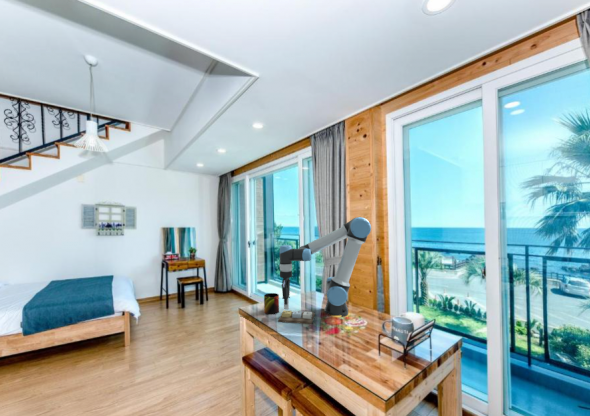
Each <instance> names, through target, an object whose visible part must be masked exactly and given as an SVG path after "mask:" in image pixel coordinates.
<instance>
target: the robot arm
mask: <svg viewBox="0 0 590 416" xmlns="http://www.w3.org/2000/svg"><path fill="white" fill-rule="evenodd" d="M371 231H372V225H371V223H370V222H369V220H368V219H367V218H365V217H361V216H359V217H358V216H356V217H353V218H352V219H350V220H348V222H346V223H344V224H342V226H341V227H340V228H337V229H335V230H333V231H331V232H329V233H326V234H325V235H323V236H320V237H319V238H316V239H314V240H312V241H310V242H308V243H306V244H304V245H300V246H299V248H293V247H292V245H290V244H284V245H280V246H279V265H278V267H279V270H280V271H279V277H280V278H282V281H281V282H282V284H281V290H282V293H281V294H282V300H283V310H286V311H289V309H290V300H289V299H291V296H290V291H291V290H290V289H291V288H290V287H291V286H290V285H291V279H290V278H292V277H293V262H311V260H312V255H313V254H315V253H318V252H319V251H322V250H324V249H326V248H328V247H330V246H333V245H335V244H338V242H340V241H344V240H346V239H347V241H346V244H345V247H344V250H343V252H342V256H341V258H340V261H339V265H338V267H337V270H336V273H335V275H334V276H330V277H327V278H326V304H325V307H324V313H326V314H327V315H329V316H341V317H342V318H343V316H344V317H346V316H348V315H349V309H348V305H347V303H346V302H347V300H348V294H349V289H350V288H351V283H350V280H351V276H352V273H353V271H354V268H355V265H356V262H357V259H358V257H359V253H360V250H361V248H362V245H363V244H366V242H367V239H368V236H369V235H370V234H371Z"/></svg>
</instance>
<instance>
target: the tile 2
mask: <svg viewBox="0 0 590 416" xmlns="http://www.w3.org/2000/svg"><path fill="white" fill-rule="evenodd" d="M303 312H304V313H303V318H305V319H312V313H313V311H303Z"/></svg>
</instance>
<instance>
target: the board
mask: <svg viewBox="0 0 590 416" xmlns="http://www.w3.org/2000/svg"><path fill="white" fill-rule="evenodd" d="M292 313H293V311H292ZM303 313H304V311H302V317H301V318H292V315H291V317H290V318H289V317H282V314H281V315H280V316H279V318H278V319H277V322H278V323H287V324H288V323H291V324H301V325H302V324H304V325H305V324H306V325H312V324H313V321H314V319H315V317H316V313H315V312H312V319H305V318H303Z"/></svg>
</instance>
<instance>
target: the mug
mask: <svg viewBox="0 0 590 416" xmlns="http://www.w3.org/2000/svg"><path fill="white" fill-rule="evenodd" d="M263 304H264V305H263V307H264V308H263V311H264V312H263V313H264V314H265V315H269V316H270V315H276V314H277V315H278V313H280V295H279V293H276V292H275V293H274V292H269V293H266V294H264V295H263Z"/></svg>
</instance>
